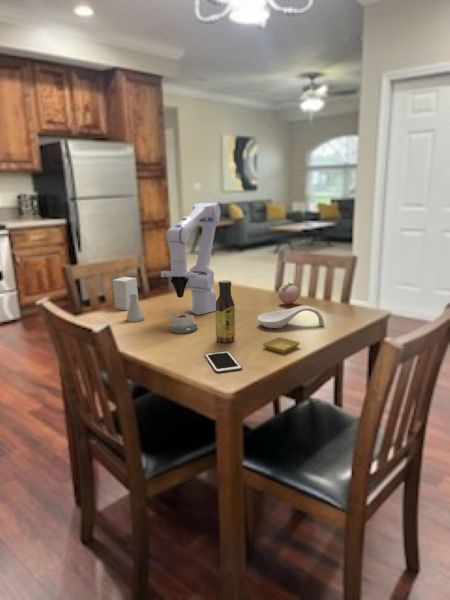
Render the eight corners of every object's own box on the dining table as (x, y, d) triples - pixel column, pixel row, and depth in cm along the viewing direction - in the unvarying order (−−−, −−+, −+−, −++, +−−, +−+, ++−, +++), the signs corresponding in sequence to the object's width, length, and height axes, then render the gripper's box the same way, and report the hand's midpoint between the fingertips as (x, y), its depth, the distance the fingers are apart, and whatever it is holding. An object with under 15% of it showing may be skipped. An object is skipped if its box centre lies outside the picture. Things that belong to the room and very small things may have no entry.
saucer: (261, 349, 142) (261, 343, 142) (279, 342, 148) (279, 336, 148) (283, 356, 136) (283, 349, 136) (300, 348, 142) (300, 342, 142)
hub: (188, 323, 170) (187, 312, 168) (202, 330, 162) (202, 317, 160) (164, 329, 164) (163, 317, 163) (178, 335, 156) (177, 323, 155)
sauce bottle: (228, 344, 146) (227, 284, 141) (212, 341, 149) (210, 282, 145) (239, 338, 152) (237, 280, 147) (223, 335, 155) (221, 278, 150)
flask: (140, 322, 172) (138, 297, 170) (122, 322, 174) (120, 296, 171) (147, 317, 179) (145, 292, 177) (130, 316, 181) (128, 292, 178)
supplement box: (139, 306, 195) (137, 277, 192) (127, 310, 189) (124, 281, 186) (126, 304, 199) (124, 276, 196) (114, 308, 193) (111, 279, 190)
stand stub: (175, 318, 176) (175, 314, 176) (177, 319, 175) (177, 315, 175) (172, 319, 175) (172, 315, 175) (174, 320, 174) (174, 316, 174)
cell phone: (216, 375, 124) (216, 371, 124) (203, 356, 138) (203, 353, 138) (243, 371, 126) (243, 368, 126) (228, 353, 140) (228, 350, 140)
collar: (182, 323, 166) (181, 313, 165) (193, 326, 163) (193, 315, 162) (171, 327, 162) (171, 317, 161) (183, 330, 158) (183, 319, 157)
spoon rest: (258, 332, 159) (258, 312, 157) (256, 322, 170) (255, 303, 168) (326, 330, 159) (327, 310, 157) (319, 320, 170) (319, 301, 168)
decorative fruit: (284, 301, 197) (285, 278, 195) (302, 303, 193) (302, 280, 190) (274, 306, 190) (274, 282, 188) (291, 309, 185) (291, 285, 183)
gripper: (155, 261, 165) (158, 297, 168) (190, 263, 159) (192, 300, 162) (165, 258, 171) (167, 293, 174) (200, 260, 165) (201, 296, 169)
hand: (180, 296), depth 169 cm, fingers closed
